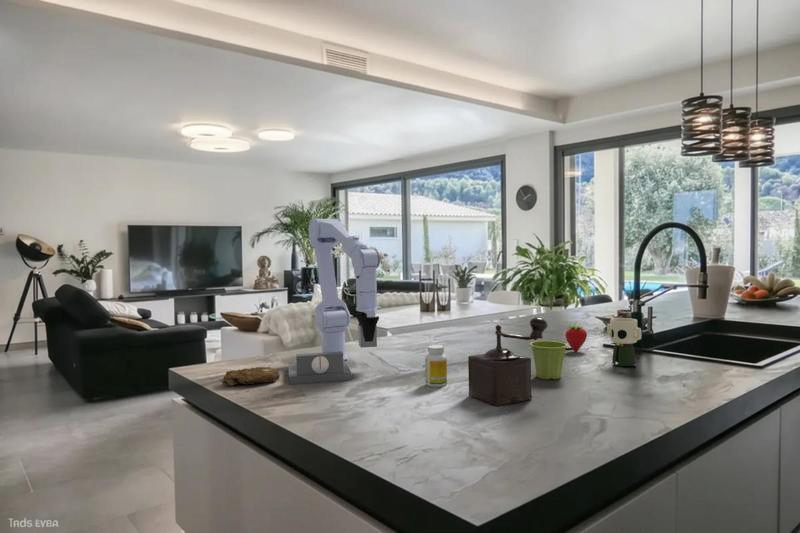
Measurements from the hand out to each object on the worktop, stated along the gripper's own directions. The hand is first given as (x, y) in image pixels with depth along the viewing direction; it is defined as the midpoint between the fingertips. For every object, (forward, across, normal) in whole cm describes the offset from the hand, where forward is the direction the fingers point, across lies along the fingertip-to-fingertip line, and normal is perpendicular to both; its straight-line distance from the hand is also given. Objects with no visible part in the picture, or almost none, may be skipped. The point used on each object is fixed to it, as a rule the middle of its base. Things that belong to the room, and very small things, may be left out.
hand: (367, 339), depth 154 cm
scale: (+9, -1, +14) cm, 16 cm away
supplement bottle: (+9, -21, -14) cm, 27 cm away
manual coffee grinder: (+9, -36, -27) cm, 46 cm away
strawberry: (+9, +6, -68) cm, 69 cm away
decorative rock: (+9, -5, +32) cm, 33 cm away
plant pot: (+9, -22, -44) cm, 50 cm away
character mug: (+9, -16, -70) cm, 72 cm away
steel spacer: (+2, 0, 0) cm, 2 cm away
